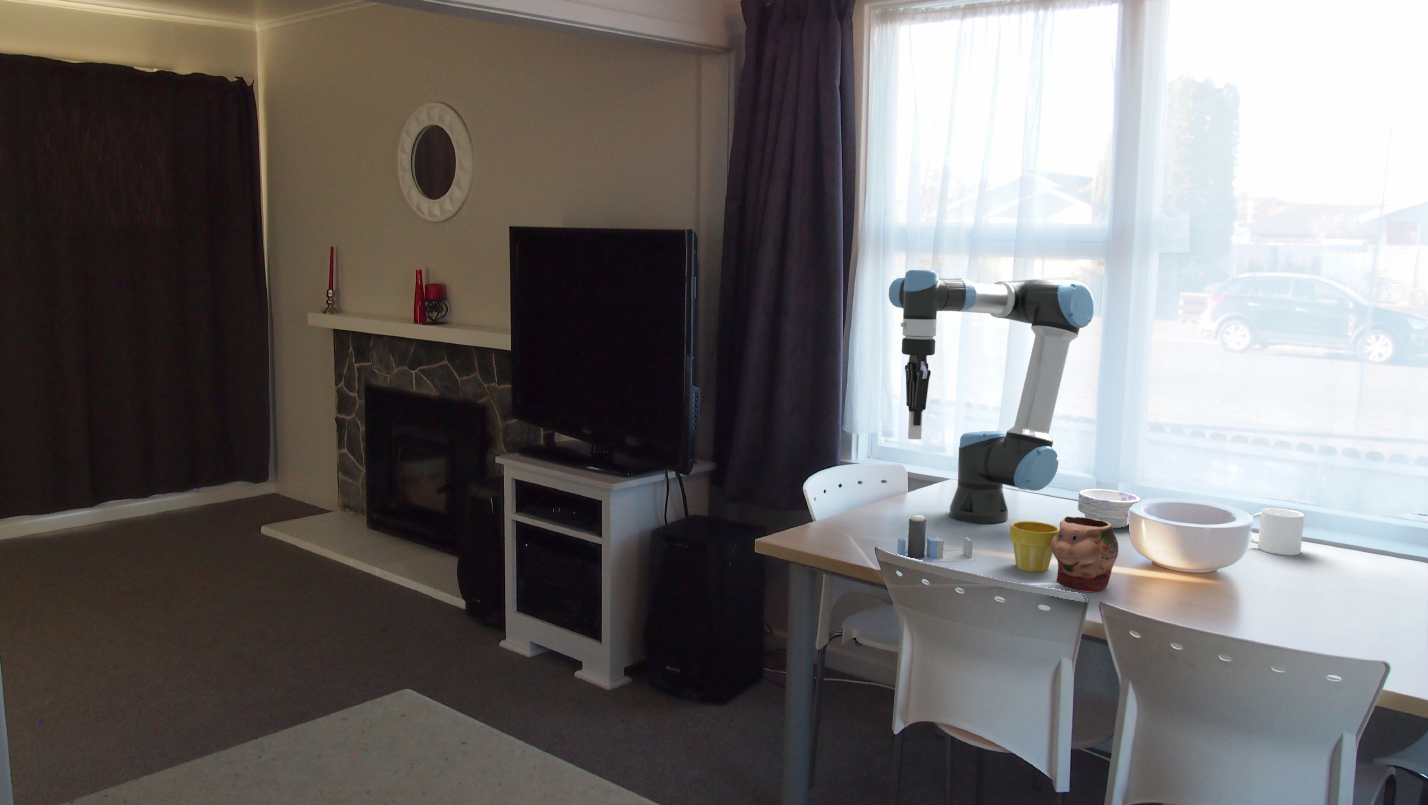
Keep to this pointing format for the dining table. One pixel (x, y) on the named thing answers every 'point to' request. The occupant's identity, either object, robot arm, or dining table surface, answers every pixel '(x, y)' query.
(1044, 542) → the plant pot
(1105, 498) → the paper bowls
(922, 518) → the dark gray cylinder
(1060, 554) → the decorative planter
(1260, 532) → the mug
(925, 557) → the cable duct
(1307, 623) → the dining table surface
